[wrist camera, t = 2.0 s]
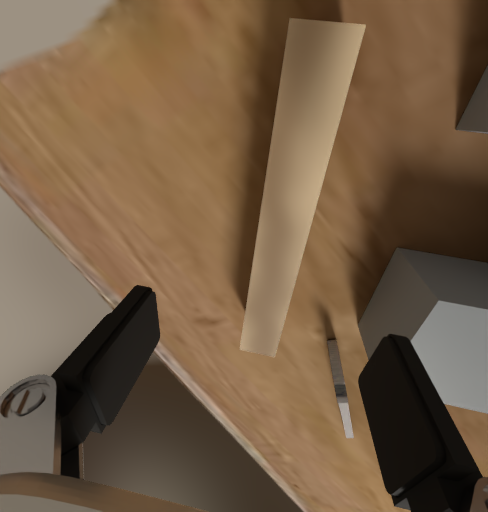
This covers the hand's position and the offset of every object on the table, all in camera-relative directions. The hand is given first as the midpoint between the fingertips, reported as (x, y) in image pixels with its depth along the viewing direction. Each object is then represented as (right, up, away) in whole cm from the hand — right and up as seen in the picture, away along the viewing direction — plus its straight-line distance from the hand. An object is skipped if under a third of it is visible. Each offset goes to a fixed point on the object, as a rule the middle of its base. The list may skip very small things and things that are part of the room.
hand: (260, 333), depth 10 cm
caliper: (+12, -14, +22) cm, 29 cm away
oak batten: (+3, +6, +12) cm, 13 cm away
